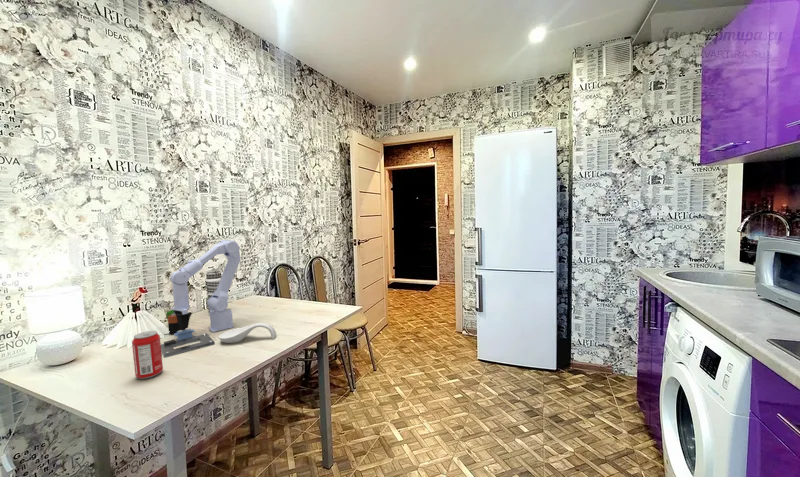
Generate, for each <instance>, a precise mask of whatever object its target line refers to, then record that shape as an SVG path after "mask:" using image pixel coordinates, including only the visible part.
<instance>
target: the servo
mask: <svg viewBox="0 0 800 477" xmlns="http://www.w3.org/2000/svg"><path fill="white" fill-rule="evenodd" d="M193 333H195V330H194V329H193V328H192V329H191V328H186V329H185V330H179V331H177V333H174V334H173V336H175V337H177V341H178V340H182V339H186V338H190V337H194V336H193Z"/></svg>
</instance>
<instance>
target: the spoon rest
mask: <svg viewBox="0 0 800 477" xmlns="http://www.w3.org/2000/svg"><path fill="white" fill-rule="evenodd" d="M256 328H264V329H267V330H268V331H269V333H270V337H271V340H275V338H276V337H277V331H276V330H275V328H274V327H273V325H271V324H269V323H267V322H256V323H253V324H251V325H246V326H244V327H237V328H233V329H232V328H231V329H230V330H226V331H224V332H222V333H220V335H219V336H218V340H220V341H221V342H223V343H226V344H236V342H237V343H240V342H242V341H243V340H245V338H246V337H247V336H248V335H249V334H250V333H251V332H252V331H254V329H256Z"/></svg>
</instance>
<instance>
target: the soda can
mask: <svg viewBox="0 0 800 477" xmlns="http://www.w3.org/2000/svg"><path fill="white" fill-rule="evenodd" d="M133 337H134V338H133V339H132V340H131V347H132V356H133V365H134V376H135V378H136V379H139V380H140V379H141V380H146V379H150V378H154V377H156V376H158V375H159V374H161V373H162V372H163V370H164V366H163V365H164V362H163V353H162V351H161V344H162V343H161V336H160V335H159V334H158V331H156V330H150V331H144V332H139V333H137V334H134V335H133Z"/></svg>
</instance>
